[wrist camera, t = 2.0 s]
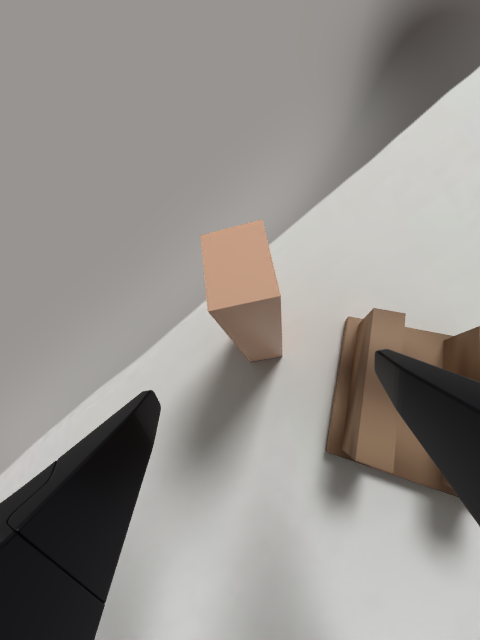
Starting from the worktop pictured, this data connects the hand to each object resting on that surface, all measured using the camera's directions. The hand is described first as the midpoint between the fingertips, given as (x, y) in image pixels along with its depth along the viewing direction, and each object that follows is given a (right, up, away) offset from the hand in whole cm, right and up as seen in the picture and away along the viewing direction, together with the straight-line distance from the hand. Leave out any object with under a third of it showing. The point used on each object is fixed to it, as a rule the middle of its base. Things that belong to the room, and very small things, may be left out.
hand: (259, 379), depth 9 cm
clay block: (+1, +1, +12) cm, 12 cm away
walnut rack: (+12, -4, +9) cm, 15 cm away
